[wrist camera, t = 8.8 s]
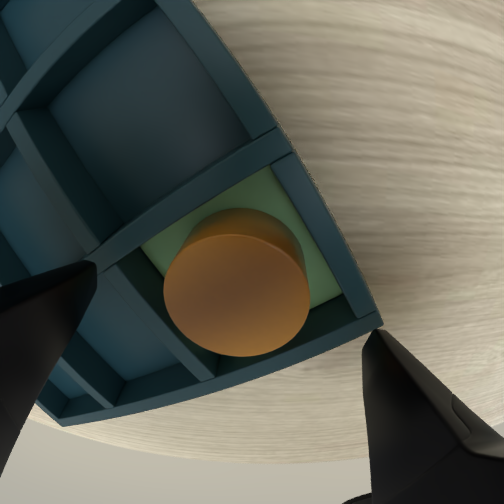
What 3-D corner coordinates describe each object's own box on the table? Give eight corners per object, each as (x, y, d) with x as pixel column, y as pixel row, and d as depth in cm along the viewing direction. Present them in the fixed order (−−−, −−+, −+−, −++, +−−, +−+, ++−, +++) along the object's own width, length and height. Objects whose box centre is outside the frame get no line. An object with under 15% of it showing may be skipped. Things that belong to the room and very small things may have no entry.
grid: (368, 287, 13) (384, 325, 10) (75, 401, 19) (62, 427, 16) (107, -91, 6) (81, -113, 3) (-84, 176, 12) (-108, 188, 9)
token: (325, 286, 12) (334, 325, 10) (226, 331, 13) (217, 372, 11) (263, 182, 10) (260, 204, 8) (158, 246, 12) (134, 278, 10)
